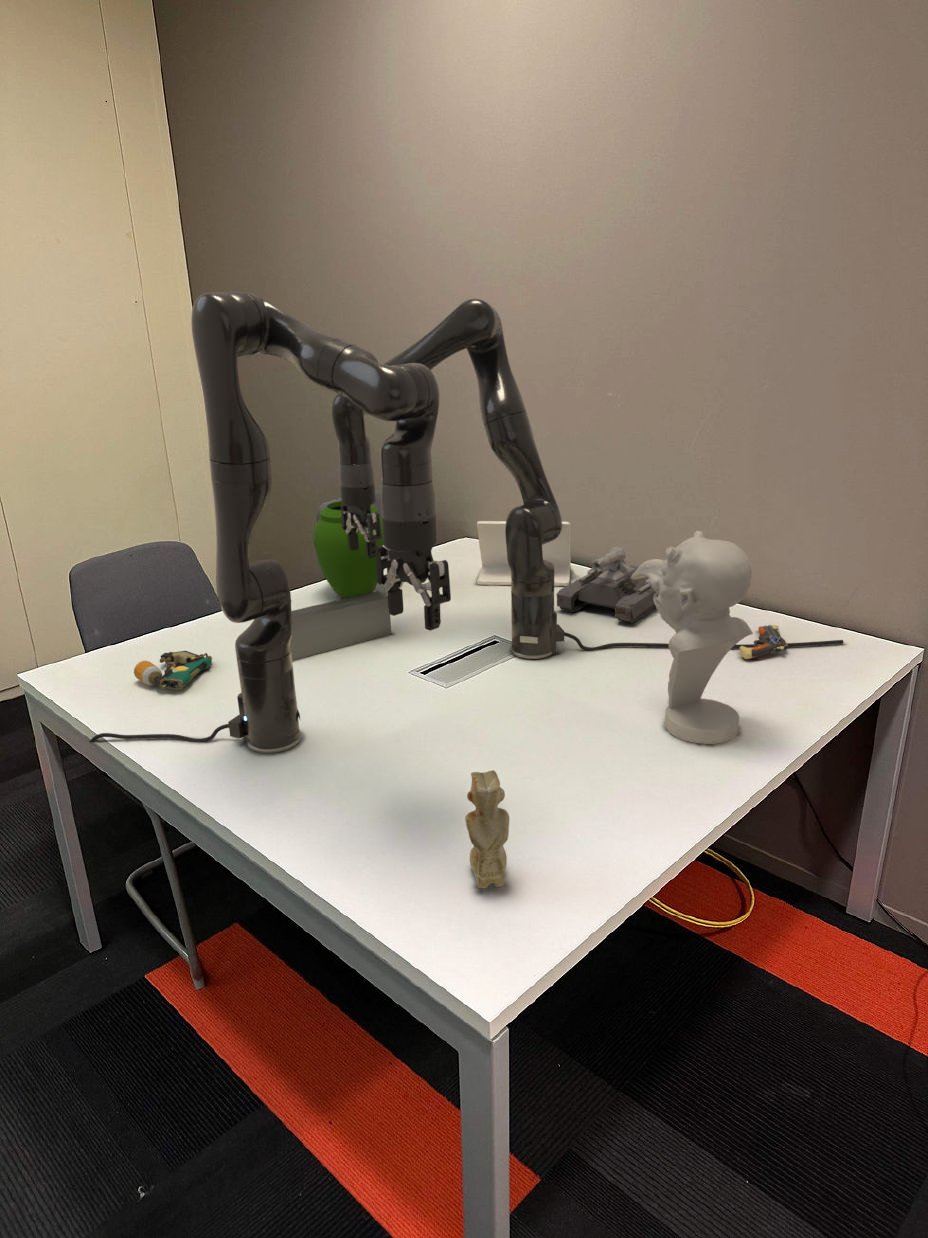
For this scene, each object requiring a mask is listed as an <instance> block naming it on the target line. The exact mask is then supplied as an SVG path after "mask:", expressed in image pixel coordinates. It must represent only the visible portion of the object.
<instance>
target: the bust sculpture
mask: <svg viewBox="0 0 928 1238" xmlns="http://www.w3.org/2000/svg"><path fill="white" fill-rule="evenodd" d="M664 554H665V559H660V558H653V559H648V560H645V561H644V562H642V563H641V564H640V565H639V566H638V567H639V568H638V569H637V570H636V571H635V573H634V574H633V575H632V576H631V578H632V579H634V580H635V579H640V578H644V577H647V578H649V579H650V583H651V587H652V589H653V590H654V591H655V592H656V593H655V594H654V597H653V600H654V604H655V605H656V607H655V608H656V611H657V612H658V614H659V615H660V618H661V619H662V620H663V622H665V623H666V624H667V625H668V626H669V627H670V628H671V629H672V630H673V631H675V634H673V635H672V636H671V638H669V641H668V644H669V647H668V649H669V653H670V654H671V657H672V658H673V660H672V663H671V666H670V669H669V673H668V682H667V694H668V696H667V697H668V700H667V705H668V706H666V708H665V718H664V726H665V728H666V730H667V731H668V732H669V733H670V734H671V735H673V736H675V737H676V738H679V739H680V740H683V741H687V742H691V743H696V744H703V745H713V744H721V743H726V742H729V741H731V740H733V739H734V738H736V736H738V733H739V729H740V728H739V727H740V715H739V714H740V713H738V711H737V710H736V709H735V708H734V707H732V706H730V705H728V704H727V703H724V702H721V701H719V700H714V699H709V698H702V696H703V695H704V694H703V693H704V692H705V690H706V687H707V685H708V684H709V681H710V680H711V678H712V676H713V674H714V673H715V671H716V670H717V668H718V667H719V665H720V664H721V662H722V661H723V660H724V658H725V656H726V655H727V654H728V653H729V652H730V651H731V650H732V649H733V648H732V647H733V646H735V645H738V643H739V642H741V641H742V640H743V639H745V638H747V637H749V636H751V635H753V634H754V632H753V630H752V629H751V628H750V626H749V624H748V623H747V622H746V621H745V620H744V619H743V618H740V617H737V616H731V614H730V613H731V610H730V608H732V607H734V606H736V605H737V604H739V603H740V602H741V601H742V600H744V599H745V597H746V595H747V594H748V592H749V590H750V586H751V583H752V574H753V573H752V572H753V571H752V565H751V561H750V559H749V557H748V555H747V554H746V552H745V551H744V550H743V549H742V548H741V547H740V546H739V545H737V544H736V543H734V542H731V541H728V540H723V539H711V538H707V536H706V534H705V532H703V530H696V531H694V533H693V536H691V537H689V538H687V539H684V541H682V542H681V543H679V544H678V545H677V546H675V547H674V546H669V547H667V548H666V551H665V553H664Z"/></svg>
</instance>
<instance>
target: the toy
mask: <svg viewBox="0 0 928 1238" xmlns="http://www.w3.org/2000/svg"><path fill="white" fill-rule="evenodd" d="M626 557H627V556H626V551H625V549H624V548H622V547H621V546H614V547H612V548H611V549H610V550H609V552H608V553H607V554H605V555H604V556H601V557H599V558H598V559H597V557H596V558H594V559H593V560H592V561H590V562H589V563H590V564H591V565H592V567H591V568H590V569H589V570H587V573H586V575H584V576H582V577H580V578H578V579H577V580H575V581H573V582H570V583H569V585H567V586H563V587H562V588H560V589H559V590H558V591H557V592H556V607H558V608H559V609H560V610H562V611H566V612H572V613H575V612H577V611H579V610H581V609H582V608H585V607H586V606H588V605H592V606H598V607H602V608H603V607H604V608H609V609H613V610H614V618H615V619H617V620H618V621H621V622H626V623H631V624H634V623H635V622H637V621H638V620H640V619H641V618H642V617H644V616H645V615H647V614H648V613H650V612H651V611H652V610H654V609H655V608H656V605H655V604H654V600H653V597H654V594H655V593H656V592H655V591H654V590H653V589H652V587H651V583H650V579H649V578H647V577H644V578H640V579H635V580H634V579H632V578H631V576H632V575H633V574H634V573H635V571H636V570H637V569H638V568H639V566H635V565H629V564H628V563H627V562H626V561H625V559H626Z"/></svg>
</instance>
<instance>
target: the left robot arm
mask: <svg viewBox="0 0 928 1238" xmlns="http://www.w3.org/2000/svg"><path fill="white" fill-rule="evenodd" d="M190 319H191V322H190V324H191V335H192V341H193V346H194V347H193V348H194V353H195V359H196V363H197V368H198V374H199V379H200V384H201V390H202V397H203V403H204V404H203V405H204V412H205V421H206V427H207V428H206V429H207V439H208V440H207V441H208V458H209V470H210V480H211V487H212V494H213V504H214V505H213V506H214V517H215V518H214V519H215V535H216V536H215V537H216V540H215V541H216V545H215V546H216V549H215V550H216V552H215V553H216V556H215V576H216V577H215V580H216V581H215V582H216V583H215V584H216V594H217V600H218V603H219V607H220V608H221V611H222V613H223V615H224V616H225V617H226V618H227V619H228V620H229V621H230V622H232V623H234V624H241V623H247V622H249V621H252V622H251V623H250V624H249V626H247V628H246V629H245V630H244V631H243V632H241V633H240V634H239V635H238V637H237V638H236V639H235V643H234V648H235V657H236V663H237V671H238V678H239V686H240V692H239V693H238V694H237V697H236V698H237V699H236V700H237V705H238V715H236V716H234V717H233V718H232V719H230V720H229V721H228V722H227V723H225V724H222V725H220V726H218V727H216V728H214V730H213V732H212V733H211V734H210V735H209V736H207V737H201V738H194V737H189V736H185V735H181V734H175V733H174V734H173V733H150V734H147V733H146V734H145V733H144V734H119V733H111V732H101V733H98V734H95V735H94V736H93V737H92V738H91V739H90V740H89V741H88V742H89V743H94V742H96V741H97V740H99V739H101V738H114V739H121V740H138V739H139V740H140V739H142V740H143V739H176V740H182V741H186V742H189V743H191V742H192V743H207V742H209V741H212V740H213V739H215V737H216V736H217V734H218V733H219V732H221V731H222V730H225V729H228V731H229V736H230V737H231V738H236V739H240V740H241V739H242V743H243V744H244V745H247V747H248V748H249V749H250V750H251V751H254V752H256V753H263V754H272V753H273V754H275V753H280V752H284V751H287V750H290V749H291V748H294V747H295V746H297V744H298V743H300V741H301V738H302V733H301V730H300V722H301V714H300V711H299V709H298V702H297V693H296V692H297V691H296V684H295V683H296V682H295V674H294V666H293V660H292V655H291V646H290V642H291V638H292V632H293V629H292V611H293V610H292V596H291V595H292V594H291V593H292V592H291V586H290V582H289V577H288V575H287V573H286V571H285V569H284V568H283V566H282V565H281V564H280V562H278V561H277V560H275V559H274V558H273V559H272V558H262V559H258V560H254V561H250V547H251V541H252V537H253V534H254V533H255V529H256V526H257V524H258V523H259V520H260V519H261V516H262V513H263V511H264V509H265V507H266V504H267V503H268V500H269V497H270V494H271V489H272V482H273V481H272V464H271V450H270V445H269V444H270V443H269V442H268V439H267V437H266V435H265V433H264V431H263V430H262V427H261V425H260V424H259V423H258V421H257V419H256V418H255V416H254V415H253V412H252V411H251V410H250V408H249V406H248V404H247V403H246V401H245V399H244V395H243V392H242V389H241V384H240V383H241V382H240V376H239V366H238V365H239V364H238V358H244V357H252V356H255V355H265V356H271V357H276V358H280V359H283V360H285V361H288V362H290V363H291V364H293V366H295V368H296V369H297V370H298V371H299V372H300V374H301V375H302V376H303V377H305V379H307V380H308V381H310V382H312V383H313V384H315V385H317V386H319V387H320V388H324V389H326V390H328V391H330V392H333V393H335V394H339V395H342V396H345V397H347V398H349V399H350V400H351V401H352V402H353V403H354V404H355V405H357V406H358V407H359V408H361V409H362V410H363V411H365V412H366V413H367V414H369V415H368V416H371V417H373V418H375V419H378V420H382V421H385V422H395V425H394V429H393V432H392V434H391V435H390V436H388V438H386V439H385V440H383V442H382V443H381V445H380V449H379V464H380V465H379V466H380V467H379V468H380V482H381V488H380V490H381V491H380V507H381V508H380V511H381V518H382V528H383V543H384V545H381V546H377V547H376V573H377V583H378V584H377V585H383V588H384V591H386V596H388V608H389V614H390V616H393V617H396V616H399V615H401V614H403V613H404V596H403V589H402V587H403V585H404V583H407V584H409V585H410V586H412V587H413V588H414V591H415V592H416V593H417V594H419V595H420V597H421V599H422V601H423V604H424V605H423V612H424V613H423V615H424V629H425V630H427V631H430V632H431V631H434V630H437V629H439V628H440V626H441V623H442V620H441V618H442V617H441V605H443V604H444V603H445V604H446V603H449V602H450V601H451V600H452V594H451V582H450V569H449V562H448V561H447V560H446V559H443V560H439V561H438V560H434V557H433V554H432V549H433V548H434V546H435V545H436V544H437V542H438V541H437V519H436V518H437V517H436V497H435V496H436V495H435V490H434V484H433V466H432V464H433V463H432V445H433V441H434V437H435V433H436V427H437V422H438V416H439V410H440V389H439V384H438V382H437V379H436V376H435V374H434V373H433V372H432V370H430V369H429V368H428V367H426V366H425V365H423V364H419V363H408V364H401V365H393V366H387V365H383V363H379V361H378V359H377V357H376V356H375V355H374V354H373V353H372V352H371V351H370V350H368V349H366V348H364V347H362V346H360V345H357V344H354V343H352V342H350V341H347V340H344V339H341V338H339V337H336V336H333V335H331V334H328V333H325V332H323V331H321V330H318V329H316V328H315V327H312V326H310V325H307V324H306V323H304V322H303V321H301V320H299V319H297V318H296V317H293V316H292V315H290V314H289V313H287V312H285V311H284V310H282V309H281V308H279V307H278V306H277V305H275V304H273V303H272V302H270V301H268V300H267V299H266V298H264V297H262V296H260V295H258V294H256V293H253V292H250V291H245V290H239V291H238V290H237V291H235V290H234V291H233V290H231V291H209V292H205V293H202V294H200V295H199V296H198V297H197V299H195V301H194V303H193V307H192V309H191V318H190ZM385 570H386V574H384V573H385ZM427 580H428V582H426V581H427ZM425 582H426V583H425ZM440 589H441V591H440ZM428 591H430V592H431V596H430V594H429V592H428ZM441 592H442V593H441ZM299 721H300V722H299Z"/></svg>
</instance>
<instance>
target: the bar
mask: <svg viewBox="0 0 928 1238" xmlns="http://www.w3.org/2000/svg"><path fill="white" fill-rule="evenodd" d="M291 611H292V629H293V632H292V638H291V642H290V646H291V655H292V661H295V660H300V659H303V658H308V657H311V656H314V655H315V656H316V655H319V654H322V653H327V652H330V651H334V650H338V649H341V648H346V647H347V646H353V645H356V644H360V643H363V642H366V641H371V640H374V639H379V638H382V637H386V636H389V635H392V619H391V615H390V614H389V608H388V596H387V594H386V595H385V594H384V593H382V592H380V591H379V590H374V591H373V592H371V593H366V594H362V595H358V596H353V597H349V598H341V599H337V600H333V601H332V600H331V601H328V602H324V603H320V604H315V605H311V606H307V607H302V608H297V609H294V610H291Z"/></svg>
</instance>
